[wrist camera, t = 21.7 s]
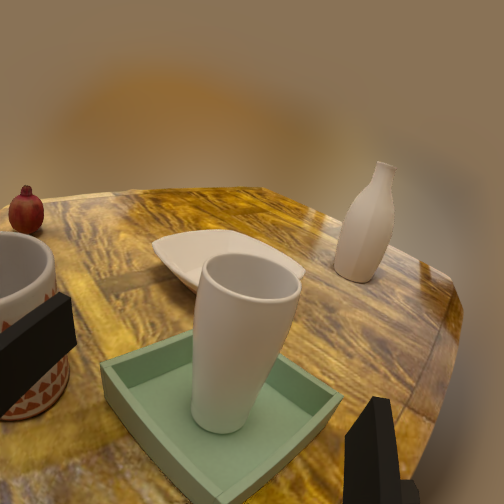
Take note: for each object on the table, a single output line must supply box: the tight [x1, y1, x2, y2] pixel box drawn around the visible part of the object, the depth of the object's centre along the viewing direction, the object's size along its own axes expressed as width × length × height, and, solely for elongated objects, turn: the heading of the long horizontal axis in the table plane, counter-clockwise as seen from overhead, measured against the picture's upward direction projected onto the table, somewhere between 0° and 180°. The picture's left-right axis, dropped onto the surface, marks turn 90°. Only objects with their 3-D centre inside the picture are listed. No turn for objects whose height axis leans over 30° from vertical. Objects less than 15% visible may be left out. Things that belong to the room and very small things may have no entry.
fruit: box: [8, 185, 44, 235], centre depth 48 cm, size 8×8×10 cm
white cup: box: [190, 252, 302, 434], centre depth 23 cm, size 7×7×15 cm
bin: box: [100, 329, 344, 504], centre depth 25 cm, size 16×16×5 cm
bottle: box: [334, 161, 397, 283], centre depth 63 cm, size 11×11×25 cm
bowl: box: [152, 230, 306, 295], centre depth 50 cm, size 22×22×5 cm
